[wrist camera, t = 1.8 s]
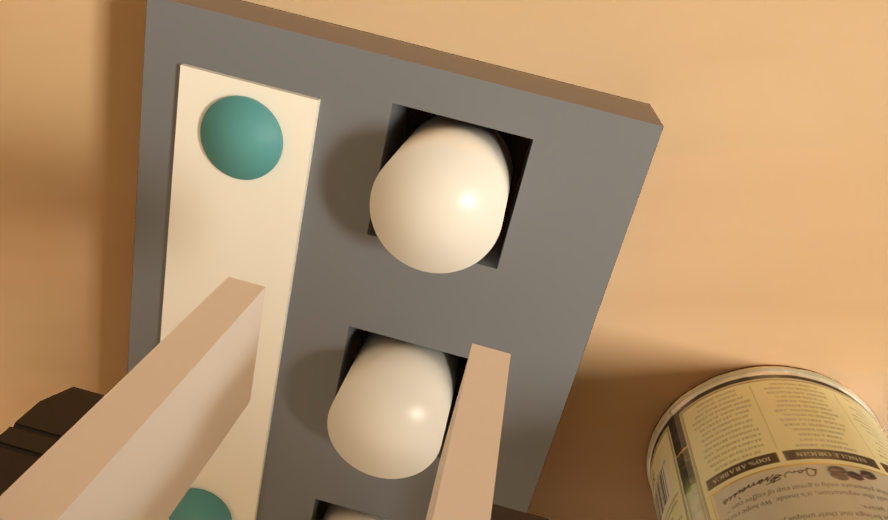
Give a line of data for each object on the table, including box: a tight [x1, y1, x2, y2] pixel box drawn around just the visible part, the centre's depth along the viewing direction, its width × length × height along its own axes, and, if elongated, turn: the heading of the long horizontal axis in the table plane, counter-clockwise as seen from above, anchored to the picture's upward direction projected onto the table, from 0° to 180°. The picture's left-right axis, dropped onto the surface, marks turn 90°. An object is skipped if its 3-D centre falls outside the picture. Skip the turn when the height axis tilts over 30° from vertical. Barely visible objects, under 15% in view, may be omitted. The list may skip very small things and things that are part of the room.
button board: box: [127, 0, 664, 520], centre depth 31 cm, size 18×26×4 cm
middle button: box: [327, 332, 459, 479], centre depth 29 cm, size 4×4×5 cm
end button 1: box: [370, 115, 513, 273], centre depth 26 cm, size 4×4×5 cm
